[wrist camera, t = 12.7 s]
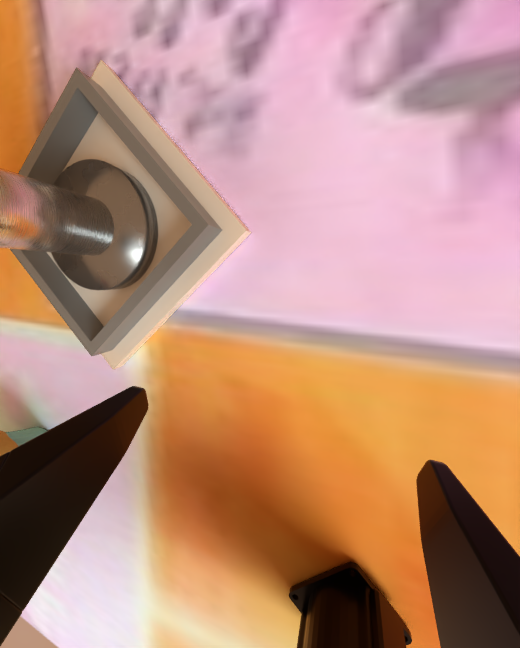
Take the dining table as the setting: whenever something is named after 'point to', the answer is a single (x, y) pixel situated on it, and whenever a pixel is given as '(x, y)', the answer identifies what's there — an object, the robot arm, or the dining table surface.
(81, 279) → the flared base peg
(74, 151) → the board
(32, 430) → the cupcake
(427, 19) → the dining table surface
